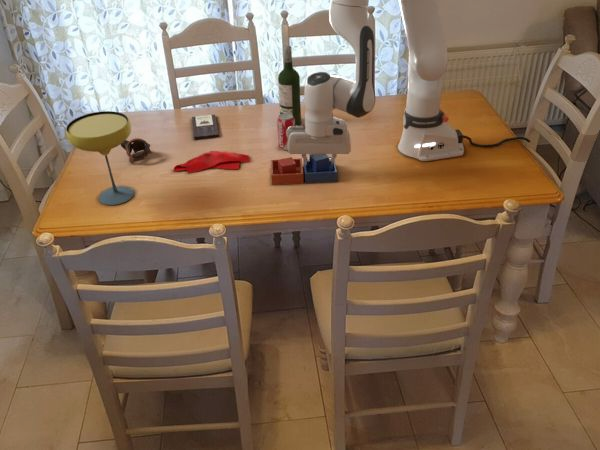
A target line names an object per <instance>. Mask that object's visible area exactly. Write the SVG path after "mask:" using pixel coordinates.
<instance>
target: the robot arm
mask: <svg viewBox="0 0 600 450" xmlns="http://www.w3.org/2000/svg"><path fill="white" fill-rule="evenodd" d="M369 2H370V0H330V3H329V10H328V16H329V17H328V18H329V19H328V20H329V24H330V26H331V28H332V29H333V30H334V32H335V33H336V34H337V35H338V36H339V37H340V38H342V39H343V40H345V42H347V43H348V44H349V45H350V47H351V48H352V49H353V52H354V56H355V81H354V80H351V79H348V78H346V77H343V76H339V75H335V74H334V75H332V74H330V73H328V72H325V71H317V72H313V73H312V74H310V75H309V76H307V78H306V80H305V84H304V94H303V101H304V102H303V104H304V108H305V112H304V113H305V114H304V125H299V126H291V127H289V128H287V130H286V136H287V138H288V150H287V152H288V153H289V154H290V155H301V158H302V159H304V160H305V165H310V157H308V156H307V155H310V154H326V155H331V157H332V158H329V165H333V161H334V160H335V161H336V158H337V155H348V154H350V153H351V152H352V144H351V143H352V142H351V136H350V132H349V129H348V123H347V121H346V120H344V119H342V118H338V117H335V116H334V113H333V111H334V110H337V111H341V112H343V113H347V114H348V115H351V116H352V117H354V118H359V119H360V118H363V117H364V116H366V115H368V114H369V113H370V112H372V111H373V109H374V107H375V104H376V91H375V34H374V31H373V30H372V28H371V26H370V22H369V14H368V13H369V11H368V10H369ZM398 2H399V7H400V12H401V17H402V18H401V19H402V23H403V27H404V32H405V37H406V41H407V46H408V47H407V48H408V67H407V68H408V71H407V90H406V91H407V93H406V103H405V109H404V113H403V119H402V122H403V123H402V125H403V128H402V132H401V133H402V134H401V137H400V140H399V143H398V145H397V149H398V151H399V152H400V153H401V154H403V155H404V156H407V157H409V158H414V159H416V160H419V161H421V162H431V161H436V160H444V159H449V158H457V157H462V156H463V155H464V153H465V147H464V144H463V142H464V139H466V140H468V142H469V144H470V145H471V146H474V147H480V148H491V147H492V148H493V147H497V146H500V145H502V144H503V143H505V142H509V141H516V140H523V141H526V142H527V143H532V142H531V140H530V139H529V138H527V137H524V136H515V137H509V138H505V139H502V140H500V141H499V142H496V143H492V144H478V143H475V142H473V141H472V138H471V137H469V136H468V135H464V134H463V133H462V131H461V130H460V129H456V128H454V127H453V126H452V125H451V124H449V123H448V122H449V117H448V115H447V114H446V113H445V112H444V111H443V110H442V109H441V101H442V100H441V99H442V92H443V76H444V75H445V73H446V72H447V69H448V65H449V53H448V47H447V42H446V36H445V33H444V27H443V21H442V17H441V11H440V6H439V0H398ZM290 128H291V129H290Z"/></svg>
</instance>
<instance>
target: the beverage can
mask: <svg viewBox="0 0 600 450" xmlns="http://www.w3.org/2000/svg"><path fill="white" fill-rule="evenodd" d="M291 126H295V119H294V118H293V115H292V114H289V113H284V114H280V113H279V115H278V117H277V120H276V127H277V145H278V148H279V149H281V150H284V151H288V138H287V136H286V130H287V128H289V127H291ZM290 129H291V128H290Z"/></svg>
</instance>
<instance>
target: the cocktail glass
mask: <svg viewBox="0 0 600 450" xmlns="http://www.w3.org/2000/svg"><path fill="white" fill-rule="evenodd" d="M131 132H132V125H131V121H130V118H129V117H128V116H127V115H126V114H125V113H122V112H118V111H110V110H108V111H107V110H106V111H105V110H104V111H95V112H90V113H87V114H84V115H81V116H78V117H77V118H76V117H75V118H73V120H71V121H70V122H69V123H68V124H67V125H66V127H65V134H66V137H67V138H66V139H67V141H68V142H69V144H71V146H73V147H75V149H79V150H82V151H84V152H92V153H93V152H94V153H99V154H100V155H102V156H104V158H105V161H106V165H107V169H108V174H109V176H110V181H111V186H112V187H109V188H107V189H106V190H104V191H101V193H100V194H99V196H98V201H99V202H100V203H101V204H102V205H105V206H118V205H123V204H126V203H127V202H129V201H130V200H132V198H134V195H135V192H134V190H133V188H131V187H128V186H125V185H124V186H121V185H119V186H116V183H115V180H114V177H113V173H112V168H111V165H110V162H109V158H108V155H109V154H110V153H111V150H112V149H114V148H116V147H118V146H121V144H122V143H123V142H124V141H125V140H128V138H129V137H130V135H131Z"/></svg>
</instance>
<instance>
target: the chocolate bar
mask: <svg viewBox="0 0 600 450" xmlns="http://www.w3.org/2000/svg"><path fill="white" fill-rule="evenodd" d="M191 120H192V129H193V140H201V139H211V138H219V130H218V126H217V125H218V124H217V120H216V114H207V115H196V116H191Z"/></svg>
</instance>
